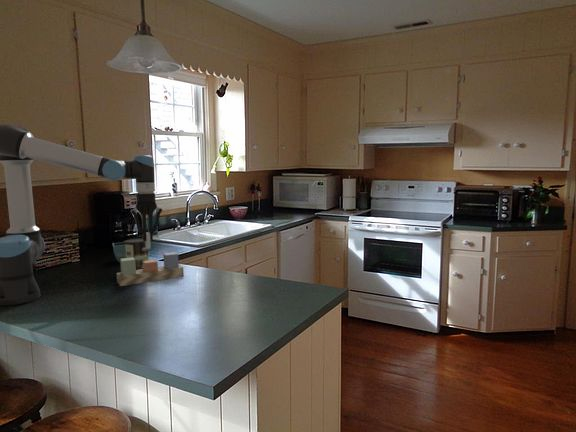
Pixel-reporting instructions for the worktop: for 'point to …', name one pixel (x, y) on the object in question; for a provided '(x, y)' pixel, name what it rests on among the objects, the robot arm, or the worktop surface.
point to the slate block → (171, 260)
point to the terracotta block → (150, 265)
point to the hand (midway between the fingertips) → (148, 248)
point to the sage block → (128, 266)
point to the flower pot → (119, 250)
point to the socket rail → (149, 276)
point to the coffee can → (136, 251)
